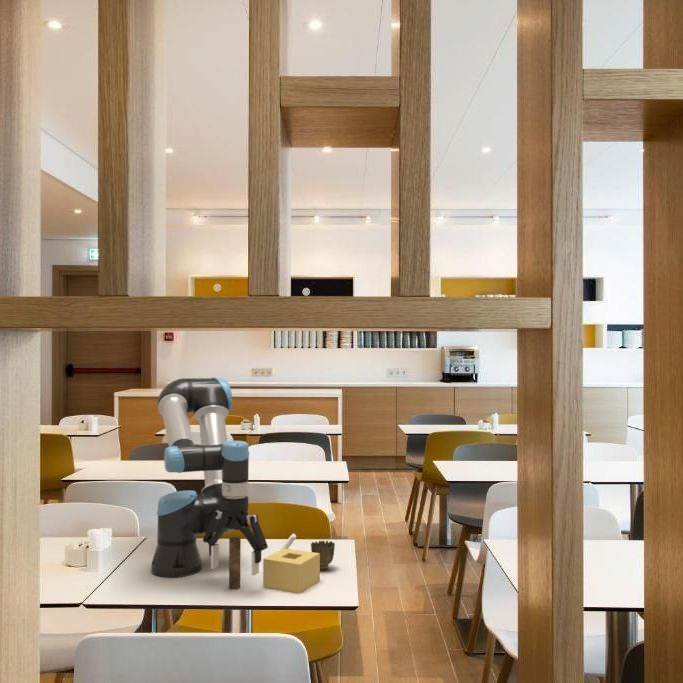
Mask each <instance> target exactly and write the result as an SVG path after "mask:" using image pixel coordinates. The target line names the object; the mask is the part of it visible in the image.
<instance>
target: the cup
mask: <svg viewBox="0 0 683 683" xmlns="http://www.w3.org/2000/svg"><path fill="white" fill-rule="evenodd" d="M335 545H336V544H335V542H333V541H329V540H319V541H315V542H314V541H312V542H311V543H310V549H311V551H310V552H314V553H320V571H327V570H328V569H329V565H330V564H332V562H333V559H334V557H335V556H334V555H335Z"/></svg>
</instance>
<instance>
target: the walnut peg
mask: <svg viewBox="0 0 683 683" xmlns="http://www.w3.org/2000/svg"><path fill="white" fill-rule="evenodd" d="M241 540H242V539H241V537H239V536H231V537H229V538H228V546H229V547H228V589H229V588H230V589H229V590H233V589H235V590H239V589H241V559H242V558H241V555H242V554H241V552H242V551H241ZM238 588H239V589H238Z"/></svg>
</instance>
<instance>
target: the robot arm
mask: <svg viewBox="0 0 683 683" xmlns="http://www.w3.org/2000/svg"><path fill="white" fill-rule="evenodd" d="M232 394H233V393H232V389H231V386H230V384H229V382H228V381H227V379H225V378H221V377H220V378H219V377H210V378H207V377H206V378H202V377H201V378H199V377H198V378H194V377H192V378H190V377H189V378H185V377H183V378H178V379H175V380H173V381H171V382H169V383H168V384H167V385H166V386H165V387H164V388H163V389H162V390H161V392H160V393H159V396H158V397H157V398H158V399H157V402H156V405H157V410H158V413H159V415H160V416H161V417H162V419H163V424H164V429H165V433H166V439H167V443H168V447H166V448H165V449H164V462H163V463H164V469H165V471H166V472H168V473H178V474H181V473H191V472H193V473H194V472H203V476H204V485H205V486H204V487H203V488H202V489H201V491H200V495H198V493H197V491H195V490H193V489H192V490H178V491H174V492H169V493H167V494H165V495H163V496H160V498H159V500H158V501H157V512H156V515H157V540H156V542H157V545H156V549H155V552H154V555H153V558H152V561H151V565H150V571H151V573H152V574H154V575H156V576H159V577H165V578H177V577H186V576H187V577H188V576H191V575H194V574H197V573H199V572H200V571H201V570H202V569H203V561H202V558H201V555H200V551H199V548H198V545H197V535H199V534H204V536H203V539H202V542H204V543H207V545H208V555H209V557H210V569H211V570H214V569H217V568H219V566H220V565H219V562H220V559H219V558H220V557H219V556H220V555H219V554H220V553H219V552H220V550H219V549H220V547H219V546H220V544H219V543H218V541H219V539H220V538H221V537H222V536H223V534H224V533H228V532H233V531H240V533H242V534H243V535H244V537H245V539H246V540H247V542H248V543H249V545H250V546H251V548H252V550H253V551H251V574H250V575H251V576H256V575H258V574H259V573H260V563H261V562H262V552H263V551H265V550H267V548H268V547H269V546H268V543H267V540H266V537H265V536H264V533H263V530H262V528H261V525H260V523H259V516H258V514H256V513H255V514H253V515H249V513H248V511H249V497H248V495H249V494H250V493H249V492H250V490H249V487H250V486H249V466H250V465H249V463H250V461H249V458H250V450H249V444H248V442H246V441H243V440H229V441H228V436H227V429H226V428H227V427H226V418H227V417H228V416H229V412H230V411H231V410H232V409H233V408H232V407H233V395H232ZM188 413H191V414H192V413H193V418H194V419H195V420H196V421H197V422H198V424H199V434H200V435H199V436H200V445H196V442H195V439H194V435H193V431H192V427H191V425H190V421H189V417H188Z"/></svg>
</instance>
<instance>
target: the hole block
mask: <svg viewBox="0 0 683 683" xmlns="http://www.w3.org/2000/svg"><path fill="white" fill-rule="evenodd" d="M262 562H263V564H262V568H263V569H262V571H263V572H262V575H263V578H262V580H263V581H262V582H263V583H262V587H263V586H264V587H263V588H266V587H268V589H272V588H273V590H280V591H285V592H290V593H297V594H302V593H303V592H305V591H306V590H308V589H309V588H311V587H312V586H314V585H315V584H317V583H318V582H320V580H321V579H320V574H321V570H320V553H314V552H312V551H306V550H299V549H292V548H288V549H286V548H284V549H282V550H281V549H280V550H278V551H276V552H274V553H272V554H269V555H268V556H266V557H264V558H263V560H262ZM304 590H305V591H304Z"/></svg>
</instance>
